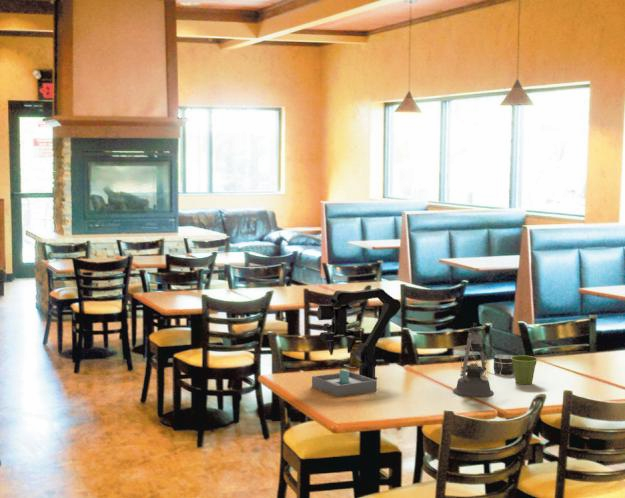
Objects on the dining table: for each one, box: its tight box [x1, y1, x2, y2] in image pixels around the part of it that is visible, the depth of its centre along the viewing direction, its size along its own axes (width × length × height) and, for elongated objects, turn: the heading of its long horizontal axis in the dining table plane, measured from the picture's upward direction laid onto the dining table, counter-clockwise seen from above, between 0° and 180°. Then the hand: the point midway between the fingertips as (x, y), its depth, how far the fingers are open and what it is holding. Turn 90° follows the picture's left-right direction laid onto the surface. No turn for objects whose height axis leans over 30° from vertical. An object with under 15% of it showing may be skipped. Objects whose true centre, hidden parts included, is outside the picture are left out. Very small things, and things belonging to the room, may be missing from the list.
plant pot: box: [511, 355, 539, 385], centre depth 434 cm, size 12×12×11 cm
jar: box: [493, 354, 514, 376], centre depth 454 cm, size 10×10×8 cm
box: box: [311, 371, 378, 397], centre depth 419 cm, size 20×20×4 cm
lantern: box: [452, 322, 502, 398], centre depth 413 cm, size 18×20×30 cm
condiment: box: [343, 339, 363, 369], centre depth 465 cm, size 7×8×12 cm
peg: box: [339, 369, 350, 385], centre depth 419 cm, size 4×4×8 cm
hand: (340, 353), depth 434 cm, fingers open, 9 cm apart
